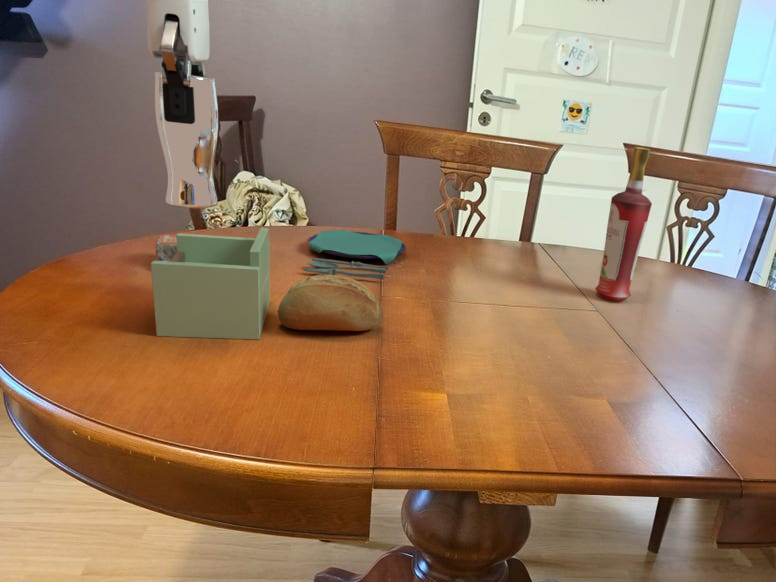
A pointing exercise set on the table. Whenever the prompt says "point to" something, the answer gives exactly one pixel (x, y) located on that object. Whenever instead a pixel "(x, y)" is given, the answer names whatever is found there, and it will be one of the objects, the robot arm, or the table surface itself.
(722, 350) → the table surface
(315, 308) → the bread roll
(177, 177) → the beer glass
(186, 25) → the robot arm
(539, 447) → the table surface
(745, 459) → the table surface
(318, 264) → the cutlery set
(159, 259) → the packaged product
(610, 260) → the liquor
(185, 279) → the green boxy piece
